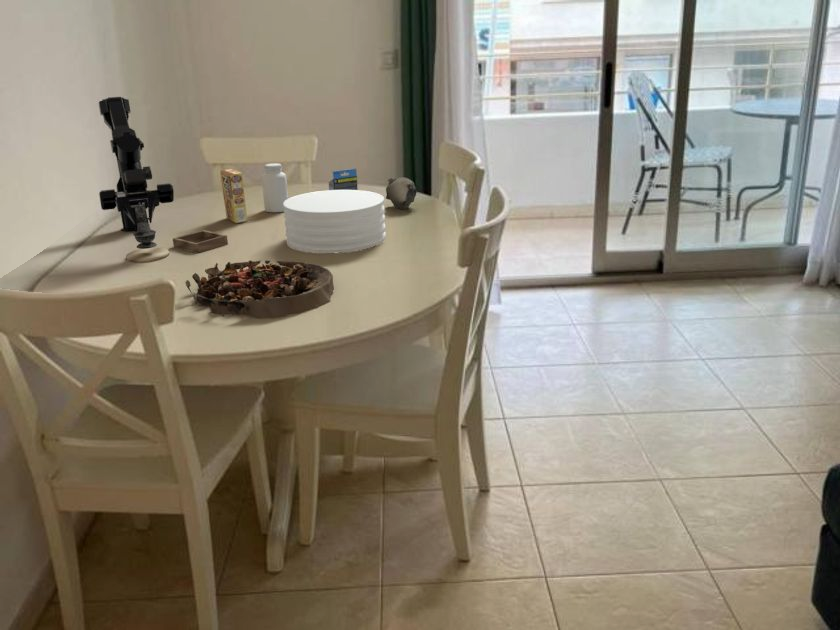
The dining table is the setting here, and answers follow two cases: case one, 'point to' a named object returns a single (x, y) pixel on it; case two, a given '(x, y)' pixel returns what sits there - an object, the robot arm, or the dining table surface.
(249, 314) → the food dish
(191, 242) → the bin frame
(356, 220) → the plate stack
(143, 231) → the grey tall carved piece
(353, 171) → the label tape box
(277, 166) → the pill bottle
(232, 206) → the candy box
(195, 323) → the dining table surface
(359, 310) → the dining table surface
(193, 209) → the dining table surface
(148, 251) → the coaster
